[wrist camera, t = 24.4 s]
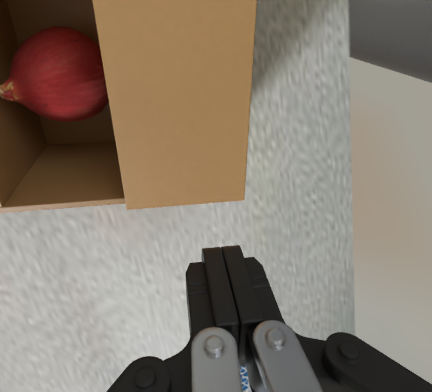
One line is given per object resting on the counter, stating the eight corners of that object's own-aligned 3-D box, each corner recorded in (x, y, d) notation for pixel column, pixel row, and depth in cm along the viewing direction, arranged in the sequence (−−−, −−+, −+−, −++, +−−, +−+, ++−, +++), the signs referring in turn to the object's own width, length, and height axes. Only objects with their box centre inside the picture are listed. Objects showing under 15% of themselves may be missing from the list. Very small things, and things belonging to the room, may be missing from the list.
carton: (219, -52, 22) (259, -80, 14) (217, 138, 30) (242, 194, 21) (-15, -59, 20) (-133, -97, 12) (44, 147, 27) (-3, 213, 19)
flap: (259, -80, 14) (262, -82, 13) (242, 197, 21) (244, 200, 20) (79, -88, 13) (77, -91, 12) (126, 206, 20) (126, 210, 19)
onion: (123, 114, 26) (23, 153, 22) (85, 48, 26) (-27, 74, 21) (151, 81, 22) (30, 121, 17) (105, -2, 21) (-34, 18, 16)
